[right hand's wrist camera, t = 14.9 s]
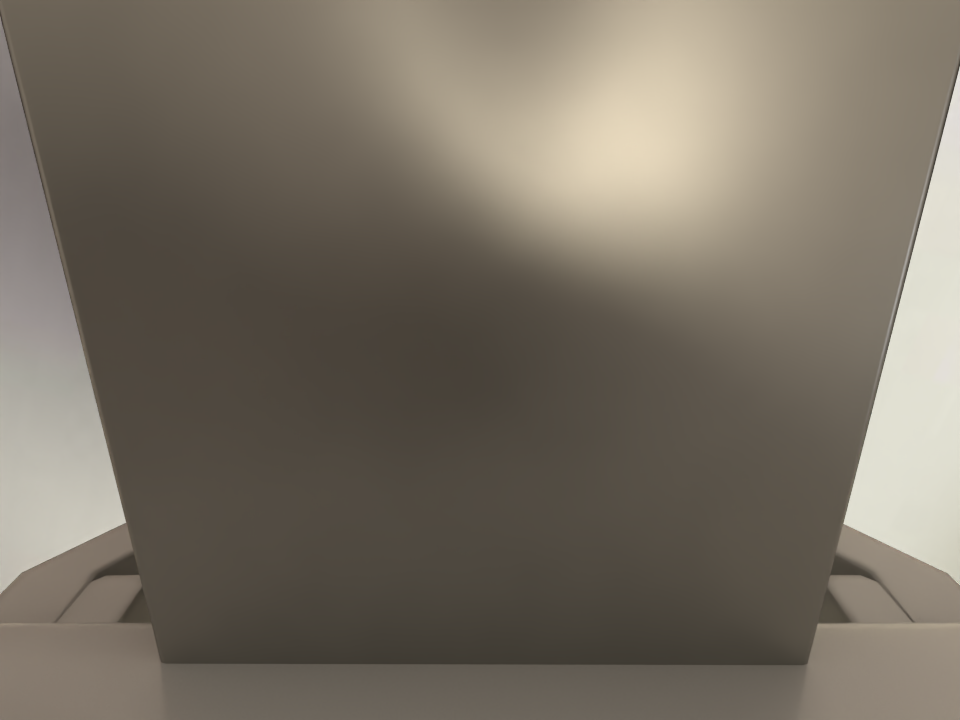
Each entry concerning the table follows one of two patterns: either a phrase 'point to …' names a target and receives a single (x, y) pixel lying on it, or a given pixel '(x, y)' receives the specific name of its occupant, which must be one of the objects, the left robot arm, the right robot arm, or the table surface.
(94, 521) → the table surface
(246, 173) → the bar
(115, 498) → the table surface
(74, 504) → the table surface
